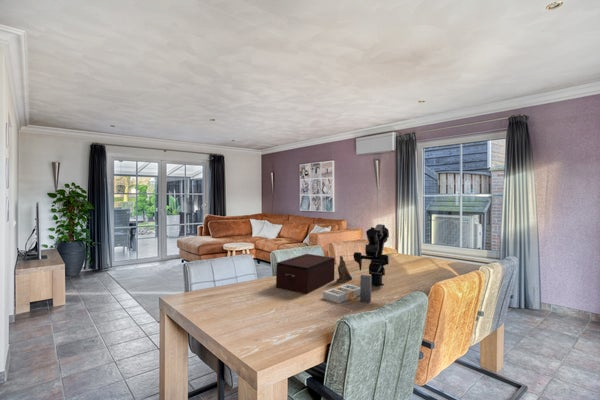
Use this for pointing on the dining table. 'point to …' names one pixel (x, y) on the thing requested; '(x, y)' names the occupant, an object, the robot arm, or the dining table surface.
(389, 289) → the dining table surface
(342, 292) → the frame
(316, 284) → the storage box
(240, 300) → the dining table surface
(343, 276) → the brown carved statuette
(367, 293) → the graphite panel
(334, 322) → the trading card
